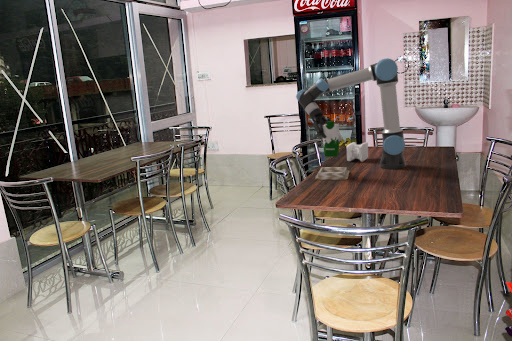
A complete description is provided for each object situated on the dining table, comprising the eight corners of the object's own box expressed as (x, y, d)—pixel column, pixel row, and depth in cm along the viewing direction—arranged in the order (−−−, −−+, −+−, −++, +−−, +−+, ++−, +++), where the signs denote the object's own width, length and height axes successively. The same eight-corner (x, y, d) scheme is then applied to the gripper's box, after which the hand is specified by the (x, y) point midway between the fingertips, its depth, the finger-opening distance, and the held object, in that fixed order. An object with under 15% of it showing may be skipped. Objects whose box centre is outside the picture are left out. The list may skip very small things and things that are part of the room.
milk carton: (322, 156, 247) (321, 122, 242) (325, 153, 255) (324, 120, 251) (338, 157, 244) (337, 121, 239) (340, 154, 252) (339, 119, 248)
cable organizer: (361, 163, 282) (361, 145, 279) (346, 162, 287) (345, 144, 285) (368, 158, 294) (368, 141, 292) (353, 157, 300) (353, 141, 297)
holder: (349, 172, 258) (349, 166, 257) (347, 179, 241) (347, 173, 240) (319, 172, 263) (319, 166, 262) (315, 179, 246) (314, 173, 245)
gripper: (323, 114, 263) (344, 142, 254) (297, 118, 250) (319, 147, 241) (330, 105, 258) (351, 133, 249) (304, 109, 244) (326, 139, 236)
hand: (335, 140), depth 245 cm, fingers closed on milk carton, 9 cm apart
